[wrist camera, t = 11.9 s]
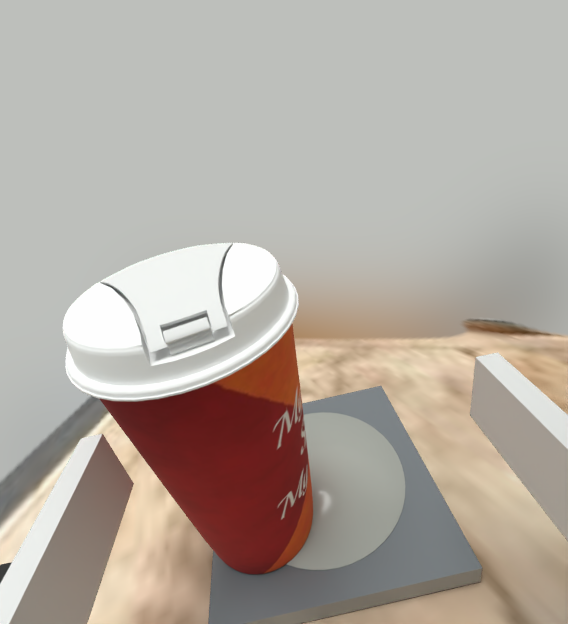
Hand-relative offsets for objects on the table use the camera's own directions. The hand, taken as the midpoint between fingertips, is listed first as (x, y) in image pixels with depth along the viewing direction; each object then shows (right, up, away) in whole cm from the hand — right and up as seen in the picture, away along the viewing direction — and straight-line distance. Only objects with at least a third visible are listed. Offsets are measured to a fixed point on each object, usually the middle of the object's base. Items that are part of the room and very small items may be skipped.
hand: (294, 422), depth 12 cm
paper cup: (-2, -7, +6) cm, 9 cm away
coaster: (+2, -7, +8) cm, 11 cm away
